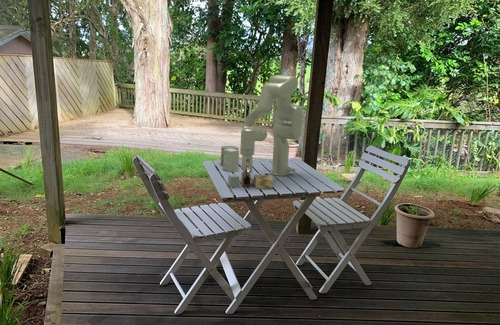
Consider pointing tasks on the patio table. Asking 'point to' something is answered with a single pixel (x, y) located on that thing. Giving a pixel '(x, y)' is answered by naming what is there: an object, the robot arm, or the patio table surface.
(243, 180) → the terracotta block
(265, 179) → the tan square tray
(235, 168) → the small box
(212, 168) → the patio table surface
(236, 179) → the slate block
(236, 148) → the canned food
